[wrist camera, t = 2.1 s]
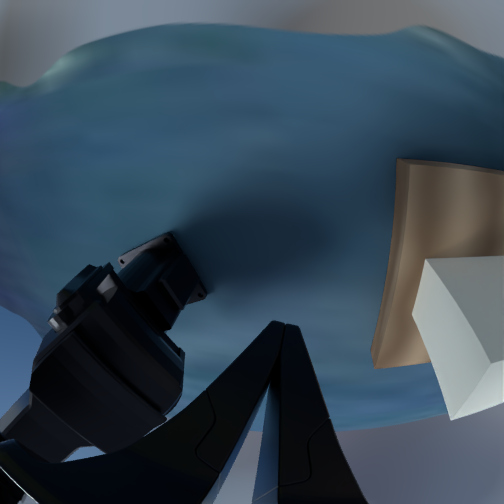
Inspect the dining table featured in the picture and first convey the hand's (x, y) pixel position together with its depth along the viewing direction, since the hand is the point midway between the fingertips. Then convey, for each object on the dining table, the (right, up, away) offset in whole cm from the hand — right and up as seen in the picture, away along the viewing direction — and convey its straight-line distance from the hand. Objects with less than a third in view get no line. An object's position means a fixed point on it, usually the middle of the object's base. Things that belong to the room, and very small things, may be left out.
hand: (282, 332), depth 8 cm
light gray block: (+18, 0, +8) cm, 20 cm away
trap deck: (+23, +1, +10) cm, 25 cm away
